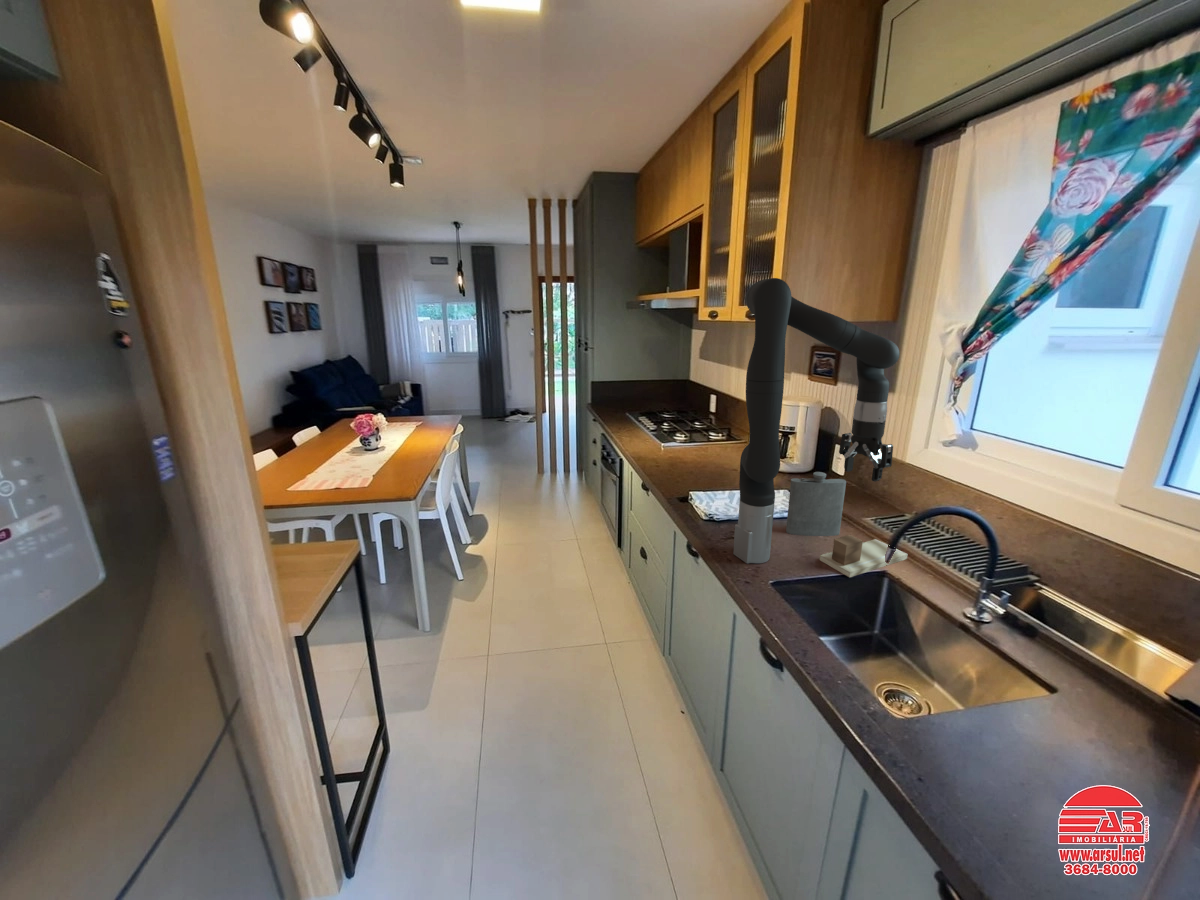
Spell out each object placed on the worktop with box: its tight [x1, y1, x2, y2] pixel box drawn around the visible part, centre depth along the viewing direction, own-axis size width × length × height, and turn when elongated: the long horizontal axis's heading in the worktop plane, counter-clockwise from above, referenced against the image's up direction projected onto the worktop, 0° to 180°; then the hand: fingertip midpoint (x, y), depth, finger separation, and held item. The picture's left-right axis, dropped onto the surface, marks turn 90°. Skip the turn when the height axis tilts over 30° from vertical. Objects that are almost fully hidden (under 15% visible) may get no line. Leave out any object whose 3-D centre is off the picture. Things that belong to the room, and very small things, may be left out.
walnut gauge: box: [832, 534, 864, 565], centre depth 132 cm, size 6×4×6 cm, turn 113°
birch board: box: [819, 538, 908, 578], centre depth 136 cm, size 22×10×2 cm, turn 113°
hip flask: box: [785, 471, 847, 537], centre depth 149 cm, size 16×4×20 cm, turn 84°
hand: (861, 475), depth 131 cm, fingers open, 8 cm apart
